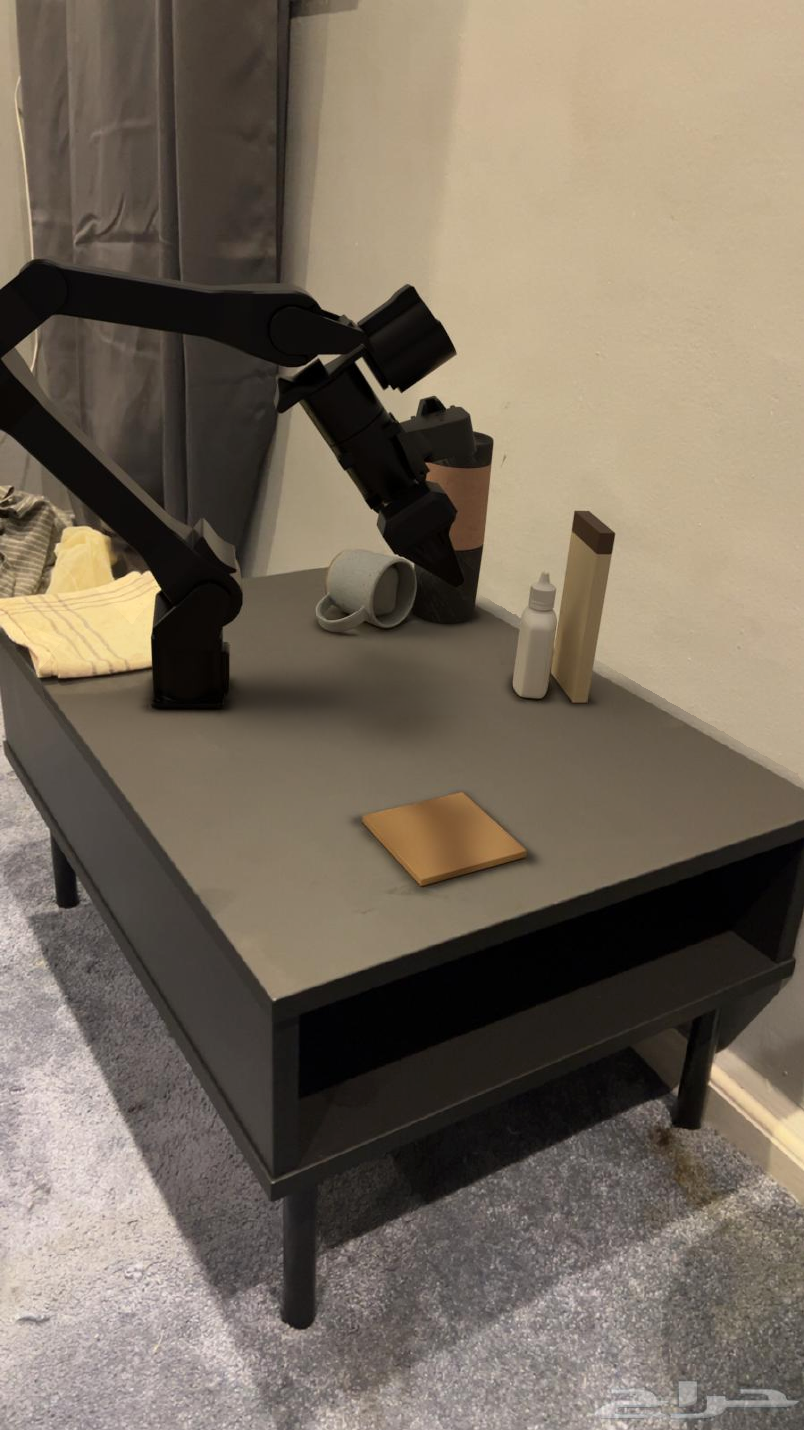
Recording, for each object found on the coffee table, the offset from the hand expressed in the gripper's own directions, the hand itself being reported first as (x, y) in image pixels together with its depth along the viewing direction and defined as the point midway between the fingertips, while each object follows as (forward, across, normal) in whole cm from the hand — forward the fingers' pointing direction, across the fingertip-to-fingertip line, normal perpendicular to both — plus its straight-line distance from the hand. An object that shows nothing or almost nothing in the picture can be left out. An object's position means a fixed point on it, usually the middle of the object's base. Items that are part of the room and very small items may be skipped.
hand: (449, 567), depth 96 cm
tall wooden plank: (+18, 0, -3) cm, 18 cm away
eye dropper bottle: (+16, 0, 0) cm, 16 cm away
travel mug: (+13, +21, +4) cm, 25 cm away
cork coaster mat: (+7, -25, +12) cm, 29 cm away
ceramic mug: (+7, +18, +12) cm, 23 cm away
